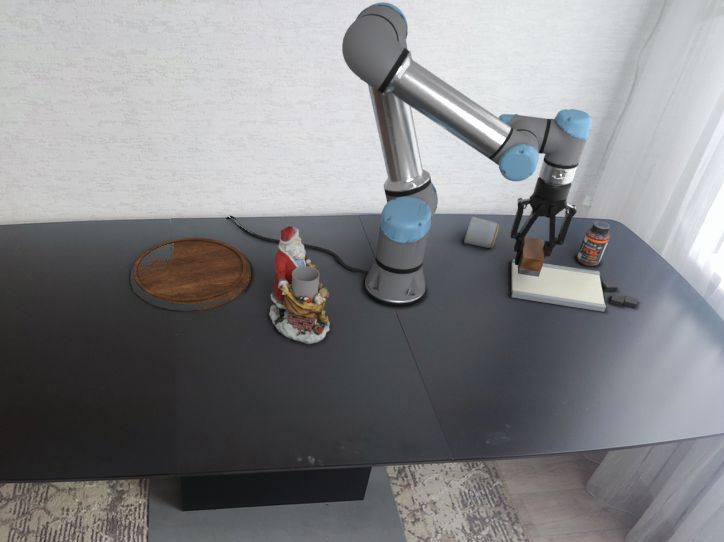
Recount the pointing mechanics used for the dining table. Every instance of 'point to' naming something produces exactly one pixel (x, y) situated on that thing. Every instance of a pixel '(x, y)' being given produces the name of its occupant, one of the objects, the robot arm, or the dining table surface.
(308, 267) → the santa figurine
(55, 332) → the dining table surface
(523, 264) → the eraser
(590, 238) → the supplement bottle
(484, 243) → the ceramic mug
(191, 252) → the cutting board
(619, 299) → the grey block
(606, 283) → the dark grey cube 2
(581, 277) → the whiteboard
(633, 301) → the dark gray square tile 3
